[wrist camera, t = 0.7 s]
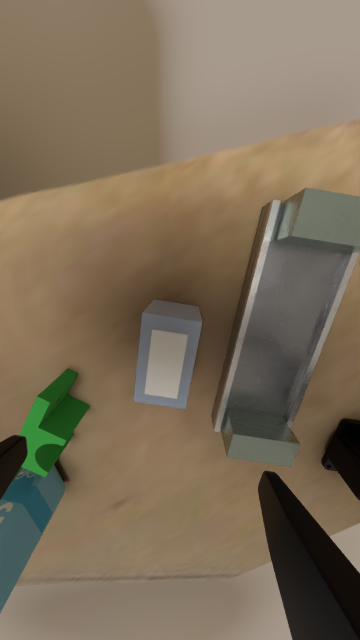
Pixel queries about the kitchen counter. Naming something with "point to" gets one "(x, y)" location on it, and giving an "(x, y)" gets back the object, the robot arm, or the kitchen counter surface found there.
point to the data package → (24, 522)
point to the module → (167, 353)
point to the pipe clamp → (51, 424)
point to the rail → (284, 320)
